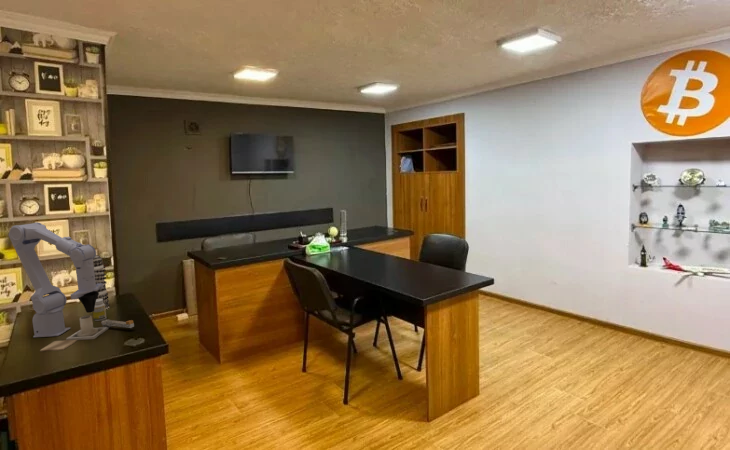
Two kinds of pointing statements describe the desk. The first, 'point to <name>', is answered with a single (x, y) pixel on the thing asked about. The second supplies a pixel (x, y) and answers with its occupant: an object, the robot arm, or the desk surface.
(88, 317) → the plug
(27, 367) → the desk surface
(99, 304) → the supplement bottle
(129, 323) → the clip
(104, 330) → the socket
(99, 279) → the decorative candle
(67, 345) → the coaster
